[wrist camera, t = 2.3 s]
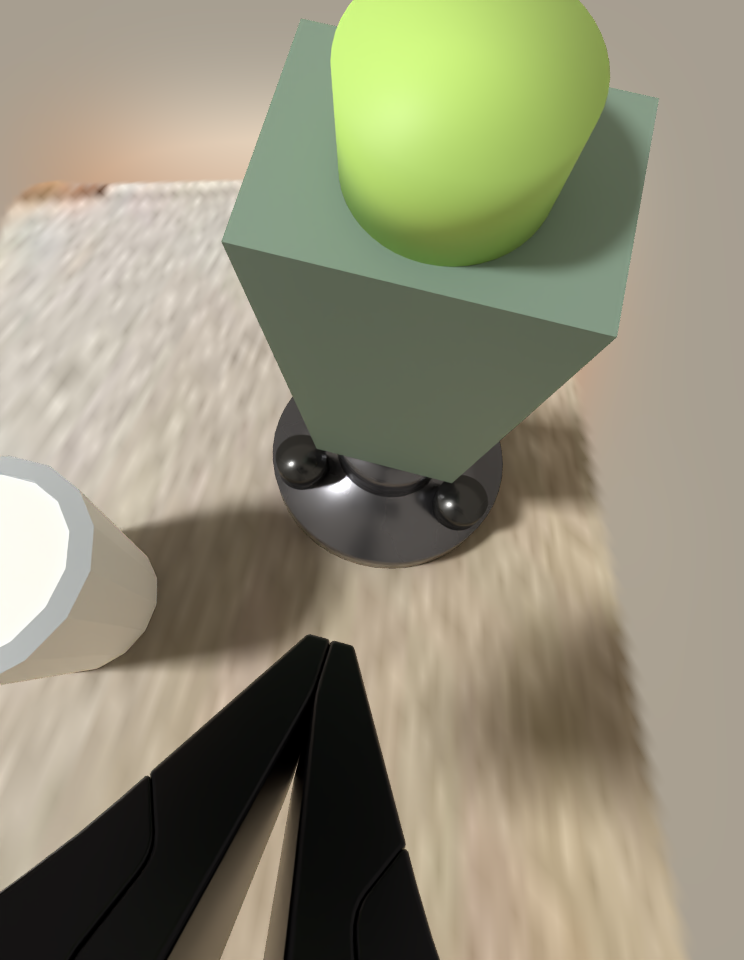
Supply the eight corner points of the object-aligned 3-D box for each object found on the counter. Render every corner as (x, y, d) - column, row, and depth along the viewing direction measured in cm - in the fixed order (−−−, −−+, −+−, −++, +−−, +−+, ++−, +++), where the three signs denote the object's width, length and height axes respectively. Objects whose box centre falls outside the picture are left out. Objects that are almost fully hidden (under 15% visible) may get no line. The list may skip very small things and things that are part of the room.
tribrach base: (477, 595, 20) (499, 583, 17) (243, 533, 21) (228, 512, 18) (506, 397, 25) (528, 363, 22) (313, 349, 25) (310, 309, 22)
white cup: (188, 652, 18) (108, 640, 12) (4, 719, 17) (-196, 746, 11) (157, 503, 21) (77, 428, 14) (-6, 552, 19) (-174, 492, 13)
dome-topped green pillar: (445, 488, 19) (689, 272, 5) (320, 456, 19) (180, 151, 5) (475, 361, 20) (751, -140, 6) (355, 332, 20) (327, -227, 6)
